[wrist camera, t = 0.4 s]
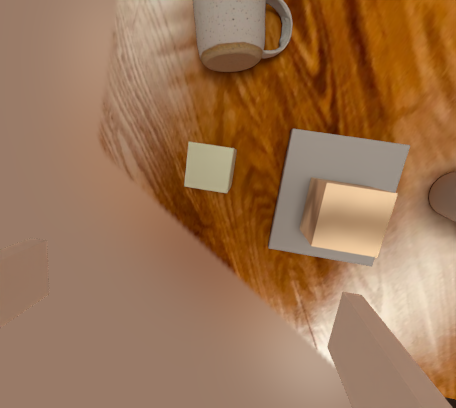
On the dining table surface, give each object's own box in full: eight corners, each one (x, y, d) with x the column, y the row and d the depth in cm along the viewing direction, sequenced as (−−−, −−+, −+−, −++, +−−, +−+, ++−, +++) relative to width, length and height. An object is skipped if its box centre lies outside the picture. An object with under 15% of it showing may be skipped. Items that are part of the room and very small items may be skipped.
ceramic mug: (205, 78, 29) (191, 51, 21) (199, 4, 27) (181, -54, 20) (290, 70, 28) (306, 38, 20) (289, -8, 26) (306, -73, 19)
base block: (311, 177, 29) (326, 182, 23) (367, 185, 28) (397, 193, 23) (299, 228, 30) (311, 246, 25) (352, 237, 30) (377, 257, 24)
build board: (291, 129, 29) (292, 128, 28) (403, 145, 28) (410, 145, 27) (268, 245, 33) (268, 248, 31) (367, 262, 32) (372, 266, 30)
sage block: (200, 144, 31) (188, 141, 25) (236, 149, 30) (233, 148, 24) (196, 180, 32) (183, 186, 26) (231, 186, 31) (227, 193, 26)
